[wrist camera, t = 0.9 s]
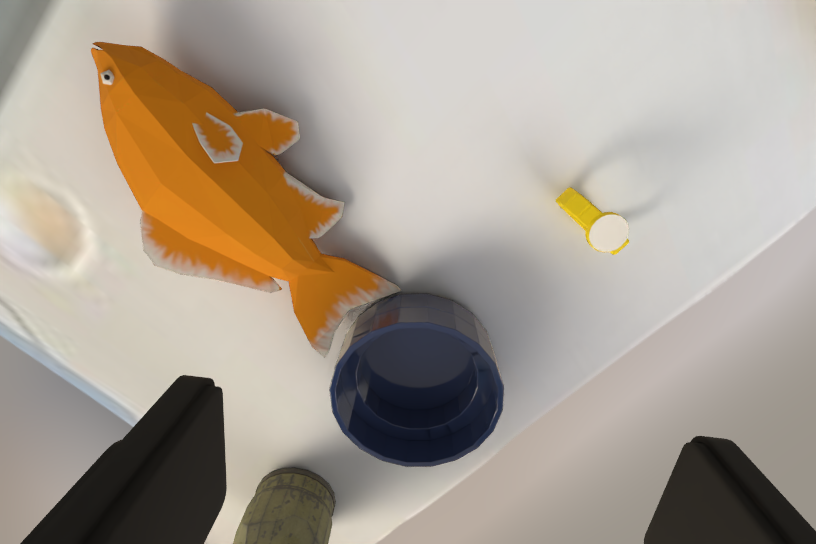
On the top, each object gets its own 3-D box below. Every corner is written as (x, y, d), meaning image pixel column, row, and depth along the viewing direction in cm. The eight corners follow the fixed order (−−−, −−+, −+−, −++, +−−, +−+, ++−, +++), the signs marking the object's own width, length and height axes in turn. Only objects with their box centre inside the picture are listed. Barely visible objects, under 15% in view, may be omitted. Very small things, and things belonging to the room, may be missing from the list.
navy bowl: (395, 261, 38) (390, 289, 32) (523, 343, 40) (539, 381, 35) (315, 375, 42) (299, 416, 37) (435, 442, 45) (437, 491, 39)
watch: (540, 200, 36) (562, 218, 30) (567, 174, 35) (594, 188, 29) (590, 247, 37) (619, 273, 31) (616, 223, 36) (651, 245, 30)
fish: (151, -39, 25) (-36, 144, 25) (443, 271, 36) (312, 402, 36) (176, -3, 32) (26, 144, 32) (419, 253, 42) (307, 364, 42)
